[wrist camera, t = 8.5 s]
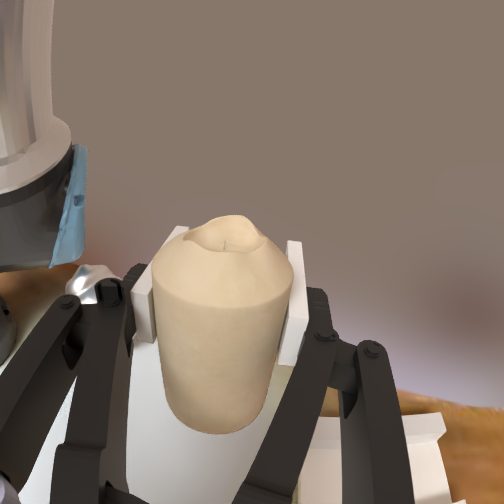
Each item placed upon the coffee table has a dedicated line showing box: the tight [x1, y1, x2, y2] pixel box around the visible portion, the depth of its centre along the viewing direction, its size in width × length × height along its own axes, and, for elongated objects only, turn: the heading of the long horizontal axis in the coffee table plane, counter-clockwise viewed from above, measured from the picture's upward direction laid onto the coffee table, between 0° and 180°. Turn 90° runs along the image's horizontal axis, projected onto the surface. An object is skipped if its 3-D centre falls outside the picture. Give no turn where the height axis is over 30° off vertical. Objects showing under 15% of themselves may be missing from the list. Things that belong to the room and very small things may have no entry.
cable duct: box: [298, 412, 466, 504], centre depth 20 cm, size 15×13×3 cm
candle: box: [151, 215, 294, 434], centre depth 14 cm, size 6×6×10 cm
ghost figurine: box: [65, 264, 136, 339], centre depth 32 cm, size 9×10×10 cm
